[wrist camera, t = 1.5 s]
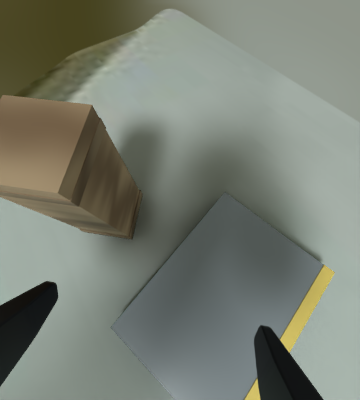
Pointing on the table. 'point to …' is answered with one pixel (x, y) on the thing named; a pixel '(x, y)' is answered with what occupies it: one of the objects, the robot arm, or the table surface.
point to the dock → (221, 304)
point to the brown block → (65, 166)
